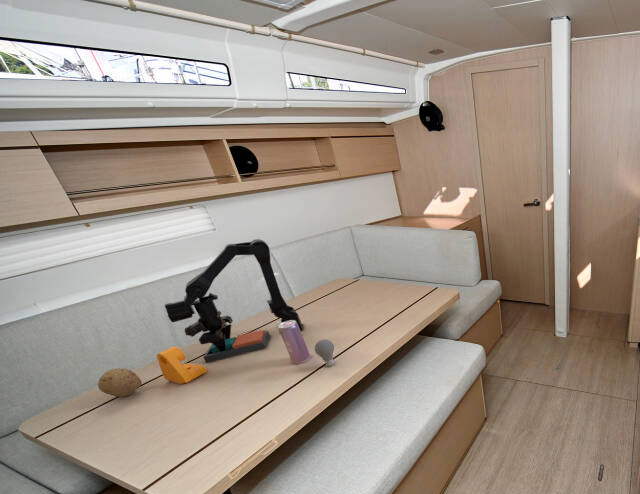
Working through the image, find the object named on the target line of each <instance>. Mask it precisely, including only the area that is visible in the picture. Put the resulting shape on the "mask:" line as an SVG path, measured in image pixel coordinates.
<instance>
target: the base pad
mask: <svg viewBox="0 0 640 494" xmlns="http://www.w3.org/2000/svg"><path fill="white" fill-rule="evenodd" d="M265 331H266V330H265V329H260V330H256V331H252V332H248V333H242V334H239V335H237V336H236V340H235V342H234V343H233V345H232V347H233V349H235V348H239V347H244V346H248V345H252V344H256V343H260V342H262V339H263V337H264V334H265Z"/></svg>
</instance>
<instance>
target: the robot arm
mask: <svg viewBox="0 0 640 494" xmlns="http://www.w3.org/2000/svg"><path fill="white" fill-rule="evenodd" d="M236 256H254V258H255V259H256V261H257V263H258V265H259V267H260V270H261V273H262V276H263V278H264V279H263V280H264V282H265V284H266V288H267V290H268V293H269V296H270V297H269V298H270V299H267V300H266V303H267V304H268V306H269V311H270V313H271V314H272V315H274V316H275V317H276V318H278V319H280V324H281V323H283V322H285V321H289V320H295V321H296V322H297V323H298V326H299V328H300V331H301V332H302V331H303V329H304V327H303V326H304V323H302V321H301V317H300V316H299V314H298V312H297V311H296V309H295V308H294V307H292V306H290V305H288V304H287V303H286V301H285V299H284V297H283V295H282V293H281V290H280V287H279V284H278V282H277V278H276V275H275V272H274V270H273V267H272V264H271V251H270V247H269V244H267V242H265V241H264V240H263V239H260V238H255V239H253V240H252V241H247V242H246V241H244V242H238V243H229V244H228V243H227V244H226V245H225V247H224V248H223V250H221V252H220V253H219V254H218V255H217V256H216V257H215V258H214V259H213V261H211V263H210V264H209V265H208V266H207V267H206V268H205V269H204V271H202V272H201V273H199V274H198V275H196V276H195V277H193V278H192V279H190V280H189V281H188V282H187V283H186V285H185V290H184V291H185V296H184V297H183V300H179V301H175V302H168V303H165V304H164V308H165V310H166V313H167V317H168V319H169V320H170V322H171V323H176V322H177V323H178V322H180V321H183V320H187V319H191V318H194V317H193V315H196V313H197V315H198V317H199V318H198V319H197V321H196V322H194V323H192V324H190V325H188V326H187V327H185V328H184V333H185V336H188V337H192V338H193V337H195V336H196V335H198V334H199V333H201V332H202V334H201V336H200V337H199V338H198V341H199V343H200V345H206V344H211V345H212V344H213V345H215V346H216V347H217V348H218V349H219V350H220V351H221V352H223V351H226V345H225V339H229V338H231V333H232V332H231V331H232V323H233V322H234V320H233V318H232V316H229V315H224V316H221V315H222V312H221V310H218V308H217V306H216V304H215V302H214V301H216V300H219V299H218V298H219V296H218V295H217V294H214V293H212V292H209V294H208V295H207V293H208V291H209V290H210V289H211V286H212V284H213V282H214V280H215V279H216V278H217V277H218V276H219V274H221V272H222V271H223V270H224V269H225V268H226V267H227V266H228V265H229V263H230V262H231V261H233V259H235V257H236ZM227 323H228V324H227Z"/></svg>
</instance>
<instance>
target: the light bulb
mask: <svg viewBox="0 0 640 494" xmlns="http://www.w3.org/2000/svg"><path fill="white" fill-rule="evenodd" d="M334 350H335V345H334V343H333V342H332V340H330V339H320V340H319V341H317V342H316V343H315V345H314V352H315V354H316V355H317V356H318V357H319V358H321V359H322V360H323V361H324V363H325V366H326V367H330V366H332V365H334V364H335V361H334V355H333V354H334Z"/></svg>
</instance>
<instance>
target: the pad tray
mask: <svg viewBox="0 0 640 494" xmlns="http://www.w3.org/2000/svg"><path fill="white" fill-rule="evenodd" d="M270 337H271V334H270V332H269V330H265V334H264V337H263V339H262V342H260V343H256V344H252V345H248V346H244V347H239V348H235V349H231V350H227V351H223V352H219V353H215V354H213V353H212V351H211V349H210V348H211V347H212V345H213V344H212V343H211V345H210V346H209V348H208V349H207V351H206V352H205V354H204V355H203V359H204V361H205V363H206V364H207V363H211V362H214V361H218V360H224V359H228V358H231V357H235V356H240V355H242V354H243V355H244V354H247V353H251V352H255V351H260V350H264V349H267V346H268V343H269V340H270Z"/></svg>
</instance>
